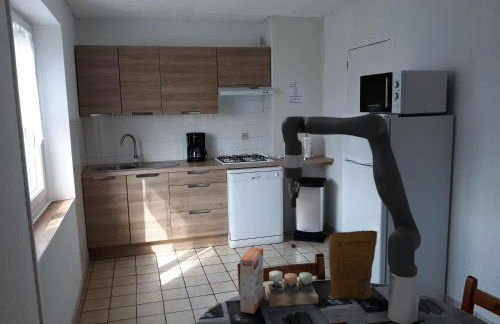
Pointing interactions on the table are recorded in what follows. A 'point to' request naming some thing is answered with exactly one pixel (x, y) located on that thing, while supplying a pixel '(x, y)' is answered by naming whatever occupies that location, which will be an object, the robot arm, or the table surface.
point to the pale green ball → (305, 278)
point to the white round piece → (276, 277)
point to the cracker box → (251, 280)
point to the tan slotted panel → (290, 294)
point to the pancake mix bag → (351, 263)
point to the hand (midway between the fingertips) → (293, 207)
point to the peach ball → (290, 279)
